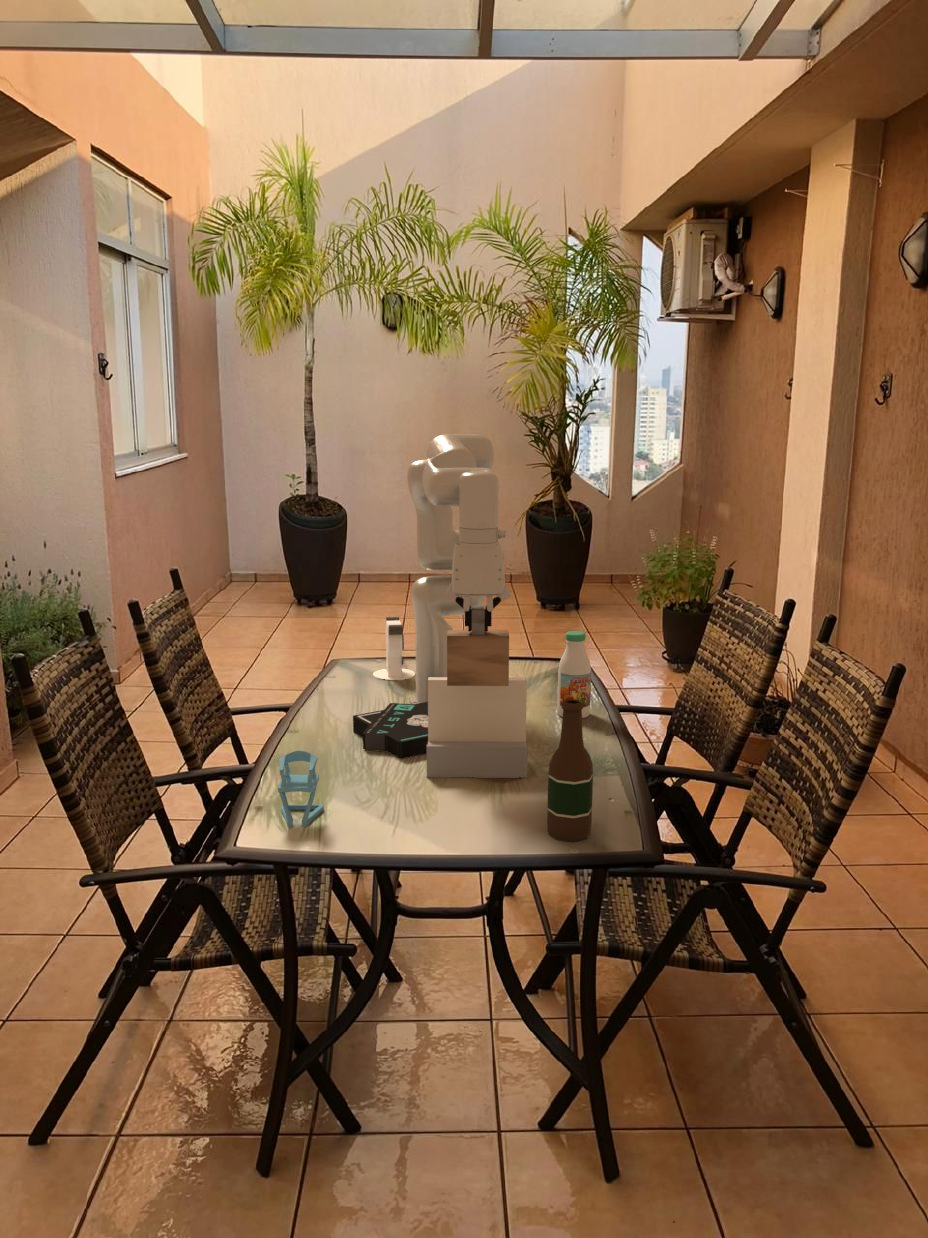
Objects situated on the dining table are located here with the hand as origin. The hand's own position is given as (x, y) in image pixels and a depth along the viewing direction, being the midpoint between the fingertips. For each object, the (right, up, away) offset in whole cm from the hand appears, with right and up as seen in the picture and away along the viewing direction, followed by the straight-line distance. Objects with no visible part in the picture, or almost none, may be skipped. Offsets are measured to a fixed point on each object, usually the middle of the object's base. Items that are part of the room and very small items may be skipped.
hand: (478, 629), depth 208 cm
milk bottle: (+23, -21, +44) cm, 54 cm away
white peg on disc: (-21, -13, +78) cm, 82 cm away
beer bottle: (+16, -36, -22) cm, 45 cm away
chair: (-32, -34, -16) cm, 50 cm away
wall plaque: (-13, -25, +29) cm, 40 cm away
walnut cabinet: (0, -11, +2) cm, 11 cm away
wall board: (0, -29, +8) cm, 30 cm away
